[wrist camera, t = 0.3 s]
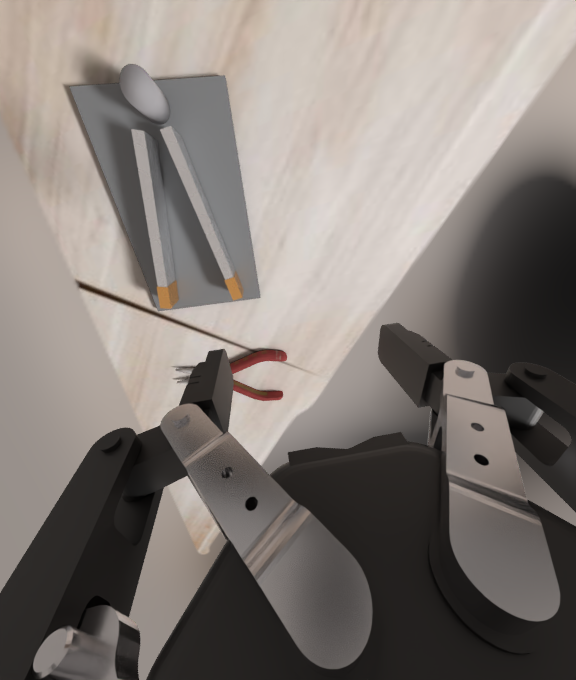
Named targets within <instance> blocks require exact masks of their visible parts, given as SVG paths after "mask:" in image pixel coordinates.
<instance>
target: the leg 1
mask: <svg viewBox="0 0 576 680" xmlns="http://www.w3.org/2000/svg"><path fill="white" fill-rule="evenodd" d="M131 131H132V137H133V143H134V149H135V155H136V161H137V167H138V172H139V178H140V184H141V190H142V196H143V202H144V208H145V214H146V220H147V226H148V232H149V238H150V244H151V250H152V256H153V262H154V268H155V274H156V280H157V285H158V286H157V292H158V298H159V304H160V308H165V309H171V308H172V307H173V306H174V305H175V304H176V303H177V301H178V300H179V297H178V289H177V281H176V280H175V273H174V265H173V258H172V250H171V242H170V235H169V227H168V219H167V211H166V204H165V196H164V188H163V181H162V173H161V165H160V158H159V150H158V142H157V140H156V139H154V138H153V137H152V136H150V135H149V134H148V133H146V132H145V131H141V130H135V129H131Z"/></svg>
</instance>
